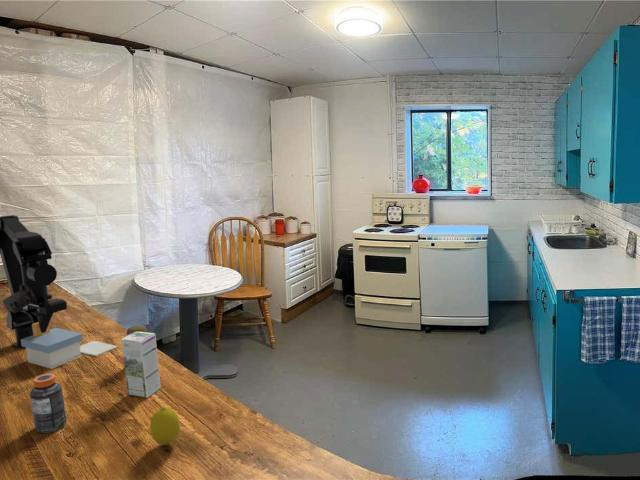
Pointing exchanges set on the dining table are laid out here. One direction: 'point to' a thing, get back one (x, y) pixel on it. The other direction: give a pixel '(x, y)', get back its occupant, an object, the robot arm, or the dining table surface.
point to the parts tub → (54, 356)
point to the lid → (50, 339)
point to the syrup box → (141, 364)
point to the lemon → (165, 425)
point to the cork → (136, 329)
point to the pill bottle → (47, 404)
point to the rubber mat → (96, 348)
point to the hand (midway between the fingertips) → (41, 331)
